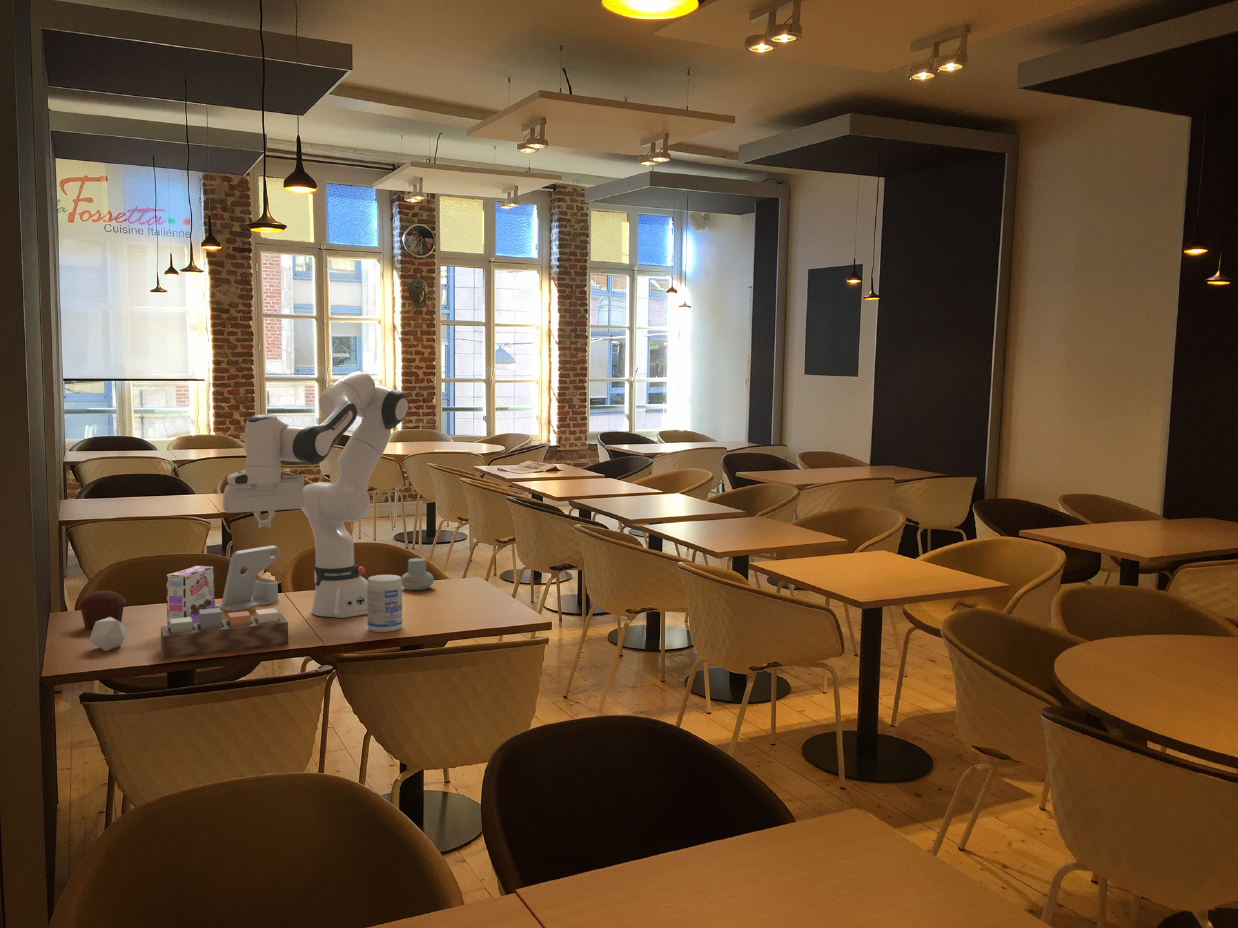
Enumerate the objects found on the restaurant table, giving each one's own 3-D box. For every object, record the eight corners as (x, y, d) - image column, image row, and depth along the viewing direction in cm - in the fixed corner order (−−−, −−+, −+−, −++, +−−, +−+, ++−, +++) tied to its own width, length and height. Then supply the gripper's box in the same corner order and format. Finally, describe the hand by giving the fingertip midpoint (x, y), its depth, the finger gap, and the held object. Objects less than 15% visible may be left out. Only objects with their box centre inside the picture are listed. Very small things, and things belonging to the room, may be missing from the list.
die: (109, 644, 256) (84, 620, 251) (137, 628, 256) (113, 604, 251) (103, 663, 249) (77, 639, 244) (132, 647, 249) (107, 622, 244)
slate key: (219, 626, 254) (219, 607, 253) (222, 630, 250) (221, 611, 249) (199, 628, 251) (198, 609, 251) (201, 632, 247) (200, 613, 247)
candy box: (185, 634, 264) (183, 575, 263) (166, 632, 265) (164, 574, 264) (216, 621, 278) (214, 565, 276) (198, 620, 279) (196, 564, 277)
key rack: (281, 634, 264) (281, 613, 264) (288, 644, 255) (287, 621, 255) (161, 649, 250) (160, 626, 249) (164, 659, 241) (163, 635, 241)
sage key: (191, 635, 251) (190, 616, 250) (193, 640, 246) (192, 621, 246) (170, 637, 248) (169, 618, 248) (171, 642, 244) (171, 623, 243)
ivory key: (275, 626, 261) (275, 608, 260) (278, 630, 256) (278, 612, 256) (256, 628, 258) (255, 610, 258) (258, 632, 254) (258, 614, 254)
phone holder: (262, 596, 309) (261, 541, 308) (282, 601, 304) (281, 544, 302) (213, 607, 295) (211, 549, 293) (233, 611, 289) (231, 553, 288)
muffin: (73, 632, 265) (71, 596, 264) (88, 621, 276) (87, 587, 275) (119, 630, 267) (117, 595, 266) (132, 620, 278) (131, 586, 277)
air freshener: (437, 587, 325) (437, 558, 324) (428, 592, 317) (427, 562, 316) (407, 585, 327) (406, 556, 326) (396, 590, 319) (396, 561, 318)
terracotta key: (248, 629, 257) (247, 610, 257) (250, 633, 253) (250, 615, 253) (228, 631, 255) (227, 612, 255) (230, 635, 251) (230, 617, 250)
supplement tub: (390, 634, 266) (390, 582, 264) (360, 631, 269) (360, 579, 267) (408, 625, 275) (408, 575, 274) (379, 622, 278) (378, 573, 277)
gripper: (301, 472, 261) (303, 523, 262) (221, 476, 251) (222, 528, 253) (306, 475, 256) (307, 526, 257) (223, 478, 246) (225, 532, 247)
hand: (264, 527), depth 255 cm, fingers closed
